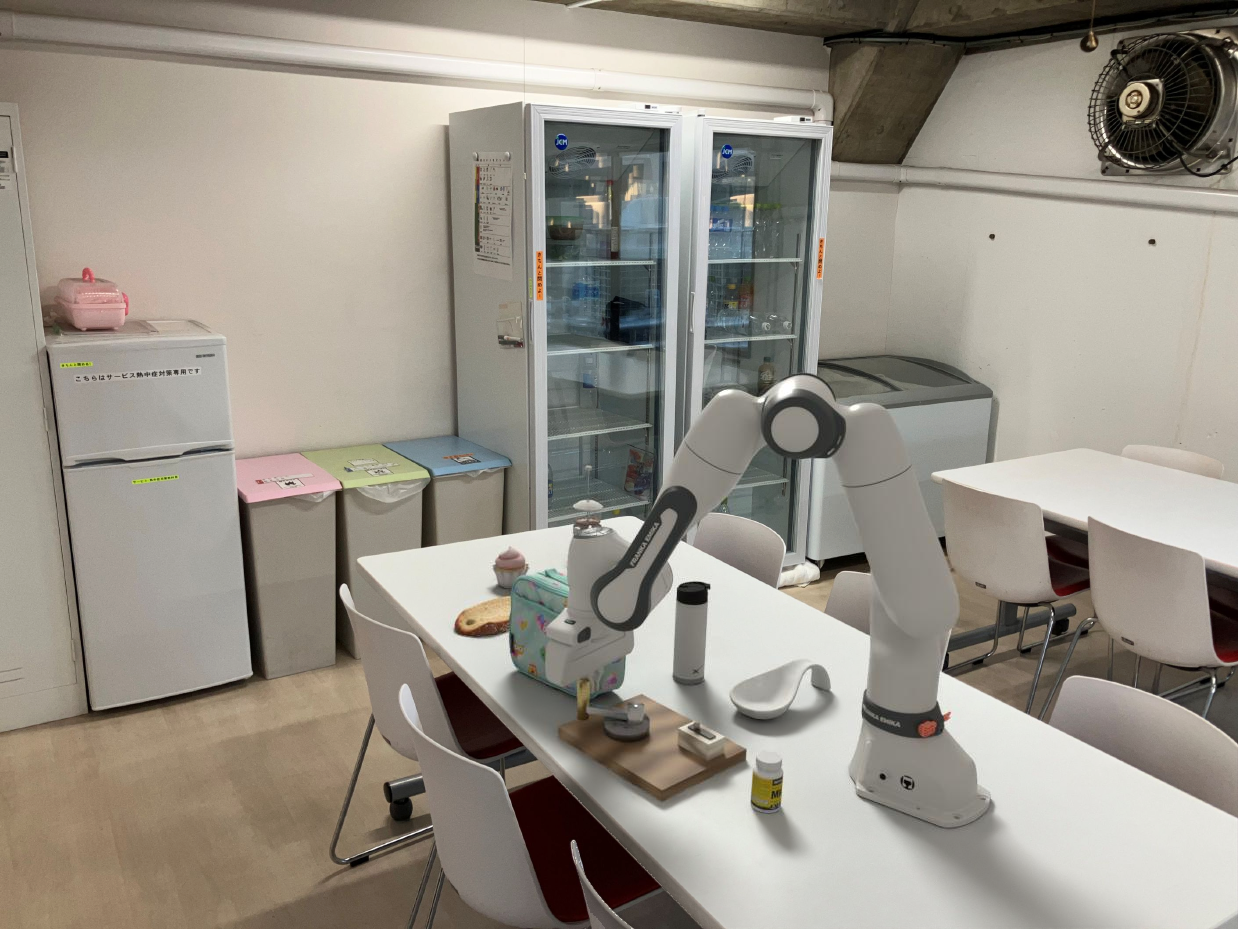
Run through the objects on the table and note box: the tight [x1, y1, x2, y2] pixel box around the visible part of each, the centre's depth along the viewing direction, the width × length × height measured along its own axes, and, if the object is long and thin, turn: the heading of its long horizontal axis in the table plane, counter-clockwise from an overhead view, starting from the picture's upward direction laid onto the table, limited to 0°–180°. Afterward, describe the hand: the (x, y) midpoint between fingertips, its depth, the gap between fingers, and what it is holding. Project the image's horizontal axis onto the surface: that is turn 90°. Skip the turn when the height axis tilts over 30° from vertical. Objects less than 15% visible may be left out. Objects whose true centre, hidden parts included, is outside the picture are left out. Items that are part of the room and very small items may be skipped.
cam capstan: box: [576, 678, 650, 742], centre depth 171 cm, size 13×8×8 cm, turn 74°
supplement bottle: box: [750, 750, 784, 814], centre depth 153 cm, size 5×5×8 cm
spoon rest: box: [729, 658, 832, 720], centre depth 187 cm, size 24×12×7 cm, turn 130°
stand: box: [557, 693, 747, 803], centre depth 170 cm, size 26×20×6 cm
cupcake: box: [491, 545, 530, 589], centre depth 245 cm, size 9×9×10 cm
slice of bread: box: [454, 595, 511, 638], centre depth 224 cm, size 18×18×4 cm
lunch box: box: [508, 567, 627, 700], centre depth 193 cm, size 27×10×21 cm, turn 47°
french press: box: [572, 465, 604, 538], centre depth 269 cm, size 10×12×25 cm
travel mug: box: [672, 580, 711, 685], centre depth 195 cm, size 6×7×20 cm
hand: (591, 691), depth 175 cm, fingers closed
